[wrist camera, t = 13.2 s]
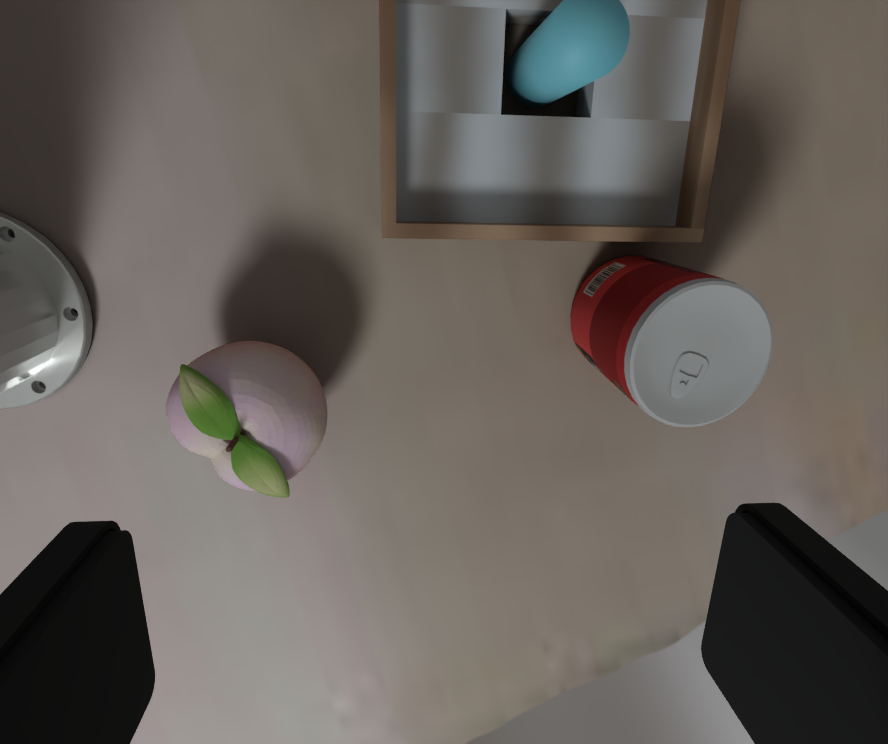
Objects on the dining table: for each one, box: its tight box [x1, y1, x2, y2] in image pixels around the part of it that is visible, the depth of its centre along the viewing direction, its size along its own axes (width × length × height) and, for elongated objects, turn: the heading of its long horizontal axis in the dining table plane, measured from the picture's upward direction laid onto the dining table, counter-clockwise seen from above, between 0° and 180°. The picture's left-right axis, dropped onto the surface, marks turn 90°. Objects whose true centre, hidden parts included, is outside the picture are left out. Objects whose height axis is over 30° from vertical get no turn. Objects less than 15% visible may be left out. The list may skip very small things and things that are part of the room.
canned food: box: [571, 256, 773, 427], centre depth 35 cm, size 8×8×11 cm
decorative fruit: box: [166, 341, 327, 497], centre depth 34 cm, size 9×8×10 cm
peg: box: [506, 0, 630, 108], centre depth 30 cm, size 4×4×10 cm
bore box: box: [379, 0, 741, 243], centre depth 32 cm, size 19×19×5 cm
